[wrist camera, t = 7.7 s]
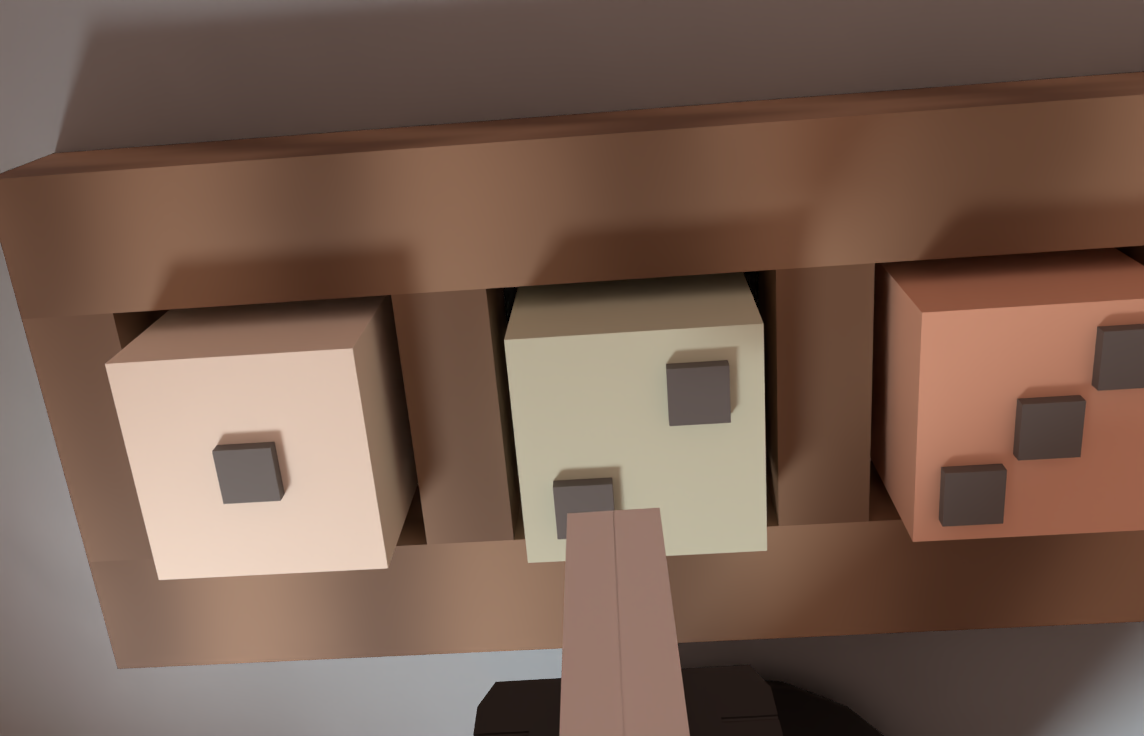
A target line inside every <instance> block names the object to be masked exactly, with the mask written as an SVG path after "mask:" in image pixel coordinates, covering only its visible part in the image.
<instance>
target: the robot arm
mask: <svg viewBox="0 0 1144 736" xmlns="http://www.w3.org/2000/svg"><path fill="white" fill-rule="evenodd" d="M474 736H783V733H782V729H781V725H780V721H779V720H778V713H777V709H776V705H775V701H774V698H773V694H772V690H771V687H770V686H769V685H768V684H767V683H766V682H765V681H764V679H763V678H762V677H761V676H760V675H759V674H758V673H757V672H756V671H755V670H754V669H753V668H752V667H751V665H738V666H721V667H704V668H686V669H681V665H680V658H679V650H678V643H677V635H676V628H675V620H674V613H673V605H672V598H671V590H670V582H669V575H668V567H667V560H666V552H665V545H664V537H663V530H662V522H661V515H660V508H646V509H630V510H614V511H598V512H583V513H567V534H566V563H565V591H564V620H563V648H562V676H561V678H556V679H539V680H521V681H504V682H495V684H494V685H493V687H492V688H491V689H490V691H489V692H488V693H487V695H486V696H485V697H484V699H483V700H482V701H481V703H480V704H479V705H478V707H477V714H476V721H475V728H474Z"/></svg>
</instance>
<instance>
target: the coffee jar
mask: <svg viewBox="0 0 1144 736" xmlns="http://www.w3.org/2000/svg"><path fill="white" fill-rule="evenodd" d="M764 681H765V682H766V683H767V684H768V685H769V686H770V687H771V690H772V694H773V698H774V701H775V705H776V709H777V713H778V720H779V721H780V725H781V729H782V733H783V736H884V735H883V734H881V733H880V732H879V731H878V730H876V729H875V728H874V727H872V726H871V725H870V724H869V723H867V722H866V721H865V720H864V719H862V718H861V717H860V716H858V715H857V714H856V713H855V712H853V711H852V710H851V709H849V708H848V707H847V706H844V705H841V704H839V703H836V702H833V701H832V700H830V699H827V698H824V697H822V696H819V695H816V694H814V693H811V692H808V691H806V690H803V689H800V688H798V687H795V686H793V685H790V684H787V683H785V682H779V681H767V680H764Z"/></svg>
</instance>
